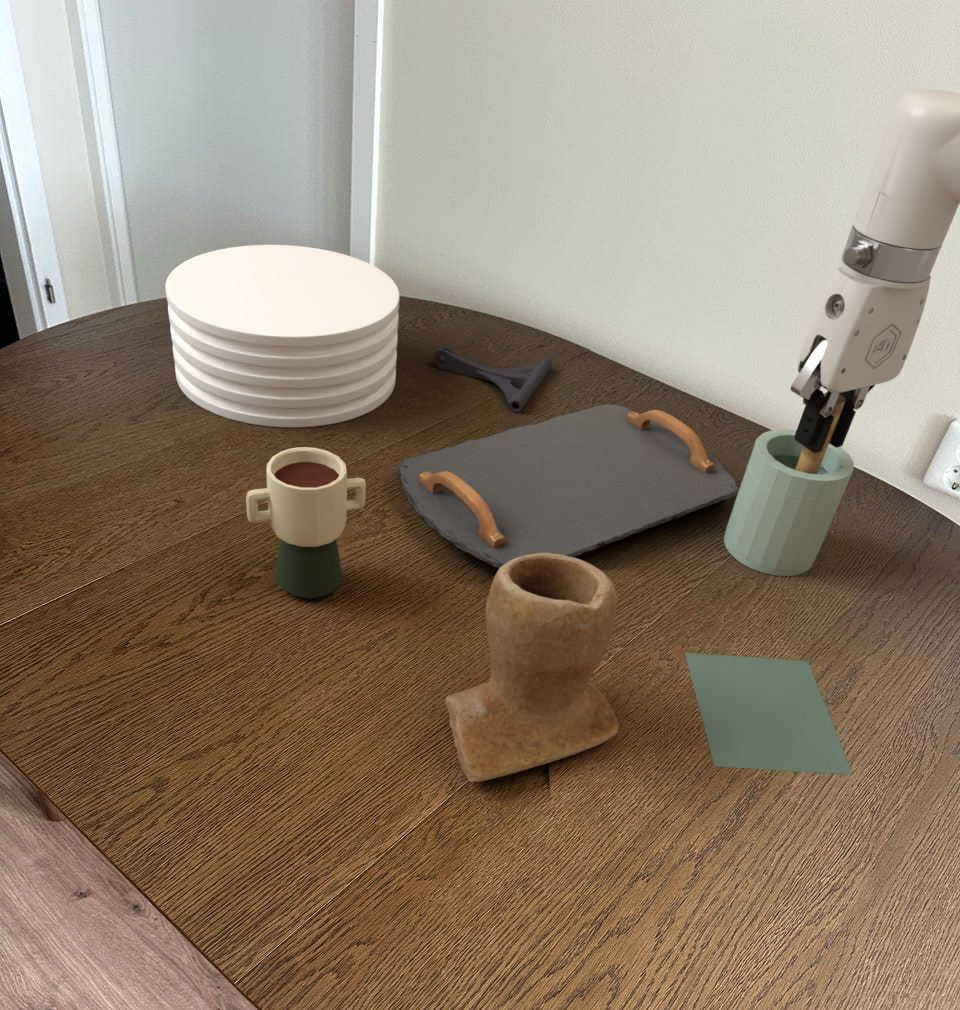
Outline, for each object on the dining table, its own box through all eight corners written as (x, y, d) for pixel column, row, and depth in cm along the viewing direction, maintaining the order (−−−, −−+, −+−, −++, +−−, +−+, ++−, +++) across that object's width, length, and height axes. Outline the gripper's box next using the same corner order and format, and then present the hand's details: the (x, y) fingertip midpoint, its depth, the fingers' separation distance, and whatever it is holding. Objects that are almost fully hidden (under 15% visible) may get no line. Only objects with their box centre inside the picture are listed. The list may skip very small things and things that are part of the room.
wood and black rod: (797, 523, 103) (849, 388, 92) (808, 547, 99) (863, 410, 89) (757, 520, 102) (805, 384, 92) (767, 544, 99) (818, 406, 89)
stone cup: (564, 659, 87) (593, 525, 77) (631, 750, 79) (674, 615, 69) (412, 697, 81) (423, 559, 71) (469, 800, 74) (490, 660, 64)
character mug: (353, 553, 96) (355, 440, 87) (373, 596, 91) (377, 482, 82) (245, 568, 92) (236, 452, 83) (260, 614, 87) (252, 496, 79)
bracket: (452, 345, 134) (453, 326, 133) (551, 370, 132) (554, 351, 130) (414, 387, 124) (415, 367, 122) (520, 414, 121) (523, 395, 119)
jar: (800, 525, 108) (837, 433, 100) (824, 579, 101) (867, 484, 93) (715, 519, 108) (746, 425, 100) (734, 572, 100) (768, 476, 92)
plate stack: (314, 312, 138) (313, 231, 130) (438, 391, 124) (445, 305, 116) (135, 355, 122) (122, 267, 115) (254, 451, 108) (248, 357, 100)
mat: (806, 665, 90) (808, 660, 90) (850, 779, 80) (853, 774, 79) (683, 657, 89) (685, 652, 89) (712, 770, 79) (714, 766, 78)
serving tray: (492, 606, 92) (500, 555, 88) (369, 489, 105) (370, 440, 101) (754, 504, 111) (770, 458, 107) (622, 415, 124) (632, 371, 120)
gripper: (858, 282, 76) (786, 478, 88) (982, 262, 83) (899, 446, 95) (792, 249, 80) (732, 440, 92) (914, 232, 87) (844, 412, 99)
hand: (817, 442), depth 94 cm, fingers closed on wood and black rod, 2 cm apart
